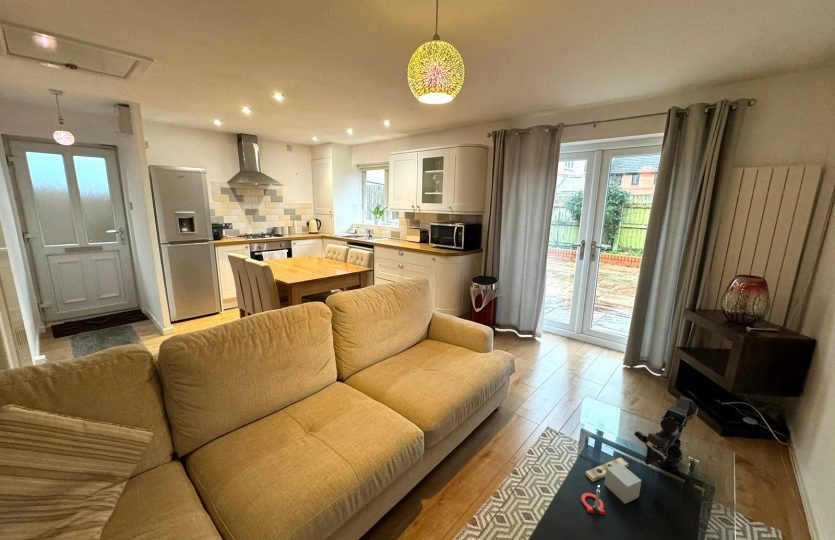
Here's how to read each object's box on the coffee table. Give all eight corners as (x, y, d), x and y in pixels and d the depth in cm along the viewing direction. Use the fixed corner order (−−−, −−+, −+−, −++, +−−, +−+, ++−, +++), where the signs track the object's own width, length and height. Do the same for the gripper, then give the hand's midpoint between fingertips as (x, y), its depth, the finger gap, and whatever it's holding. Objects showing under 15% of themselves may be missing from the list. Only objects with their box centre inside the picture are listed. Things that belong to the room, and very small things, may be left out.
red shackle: (578, 493, 142) (585, 513, 133) (580, 468, 139) (588, 486, 130) (598, 496, 141) (607, 516, 132) (601, 470, 138) (610, 489, 129)
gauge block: (617, 478, 148) (619, 462, 146) (638, 497, 139) (641, 480, 137) (604, 484, 145) (606, 468, 143) (625, 504, 136) (627, 486, 134)
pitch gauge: (620, 460, 158) (620, 457, 157) (627, 466, 154) (628, 463, 154) (585, 474, 151) (586, 471, 150) (592, 481, 147) (593, 478, 146)
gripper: (639, 415, 151) (619, 441, 150) (683, 443, 134) (660, 473, 133) (649, 425, 155) (629, 451, 154) (692, 454, 138) (670, 483, 137)
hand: (646, 463), depth 144 cm, fingers closed
